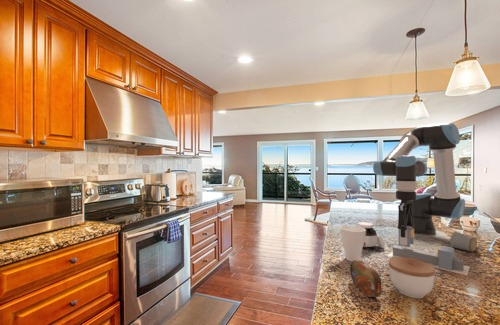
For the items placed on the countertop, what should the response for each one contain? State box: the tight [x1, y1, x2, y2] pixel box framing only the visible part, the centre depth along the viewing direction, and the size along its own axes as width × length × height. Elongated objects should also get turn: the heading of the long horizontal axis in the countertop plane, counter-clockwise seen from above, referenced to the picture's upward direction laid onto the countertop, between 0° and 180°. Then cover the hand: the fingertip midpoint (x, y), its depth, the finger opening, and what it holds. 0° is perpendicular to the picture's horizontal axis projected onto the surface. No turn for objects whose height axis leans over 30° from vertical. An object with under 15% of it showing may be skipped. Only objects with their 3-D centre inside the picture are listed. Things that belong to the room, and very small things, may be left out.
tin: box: [349, 260, 383, 298], centre depth 81 cm, size 15×3×8 cm, turn 5°
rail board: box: [386, 245, 471, 276], centre depth 104 cm, size 11×27×4 cm, turn 44°
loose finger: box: [398, 227, 415, 248], centre depth 108 cm, size 7×4×7 cm, turn 134°
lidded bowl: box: [388, 257, 436, 299], centre depth 80 cm, size 13×13×11 cm
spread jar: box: [357, 221, 386, 250], centre depth 123 cm, size 12×11×12 cm
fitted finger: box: [437, 245, 455, 272], centre depth 98 cm, size 7×4×7 cm, turn 134°
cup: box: [339, 225, 366, 262], centre depth 107 cm, size 10×10×14 cm
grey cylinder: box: [450, 231, 478, 253], centre depth 119 cm, size 11×8×8 cm
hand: (406, 242), depth 108 cm, fingers closed on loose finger, 7 cm apart
